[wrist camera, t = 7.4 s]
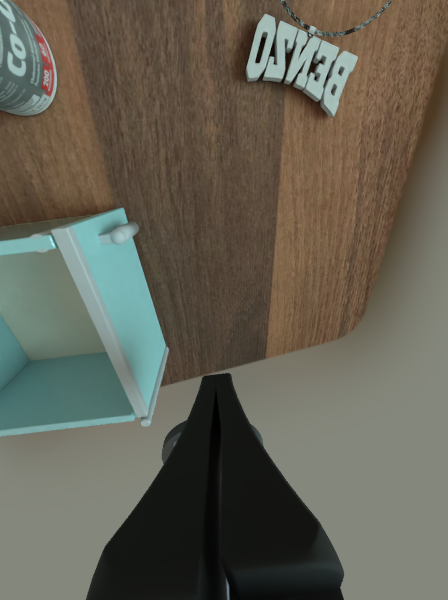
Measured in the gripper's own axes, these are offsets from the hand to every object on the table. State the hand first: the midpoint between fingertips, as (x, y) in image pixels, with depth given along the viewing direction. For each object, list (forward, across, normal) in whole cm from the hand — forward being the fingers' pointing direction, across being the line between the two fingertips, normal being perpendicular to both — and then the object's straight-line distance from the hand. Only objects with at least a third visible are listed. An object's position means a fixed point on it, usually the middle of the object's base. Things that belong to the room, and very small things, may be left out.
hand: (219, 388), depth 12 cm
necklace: (+9, -7, -15) cm, 19 cm away
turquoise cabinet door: (+9, +5, -2) cm, 10 cm away
